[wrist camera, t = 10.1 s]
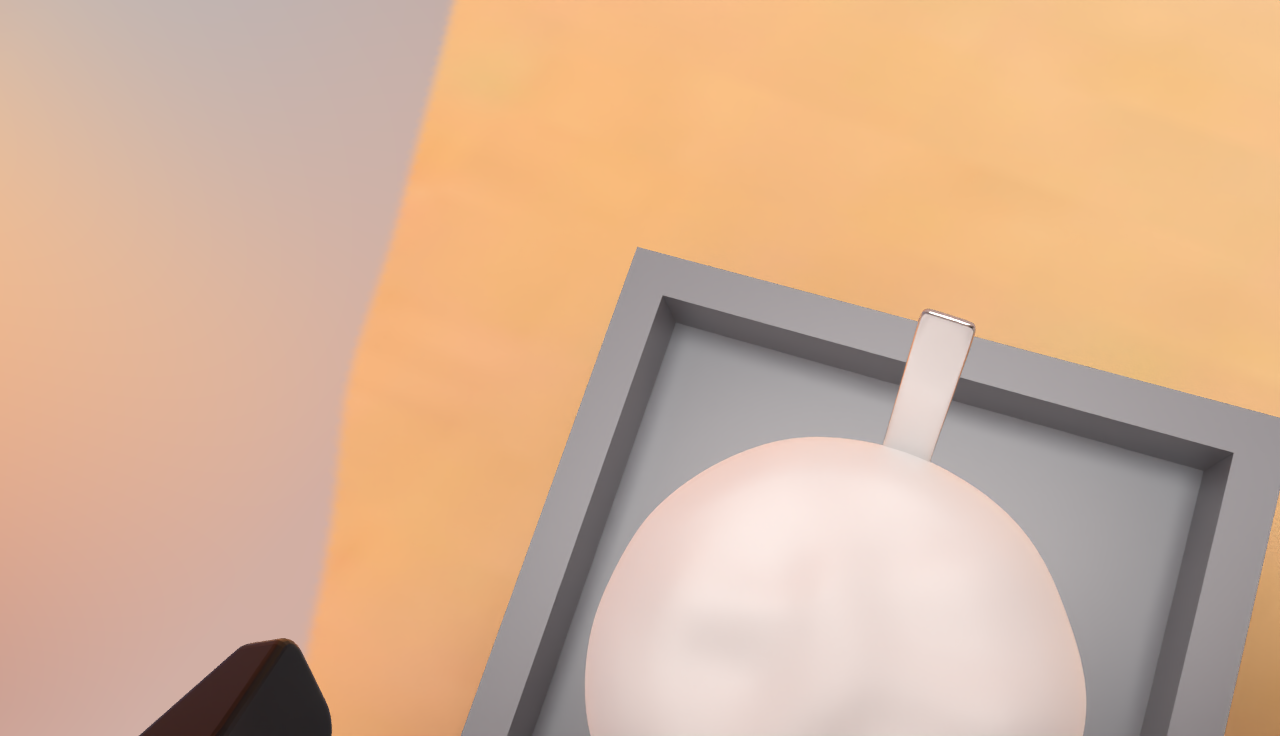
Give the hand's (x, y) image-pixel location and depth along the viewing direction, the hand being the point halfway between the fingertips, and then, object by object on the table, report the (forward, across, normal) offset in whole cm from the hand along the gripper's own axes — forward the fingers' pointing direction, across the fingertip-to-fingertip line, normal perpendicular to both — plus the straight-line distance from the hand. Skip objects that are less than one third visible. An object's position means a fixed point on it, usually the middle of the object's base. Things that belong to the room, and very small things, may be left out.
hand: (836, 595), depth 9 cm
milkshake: (+7, 0, +7) cm, 10 cm away
